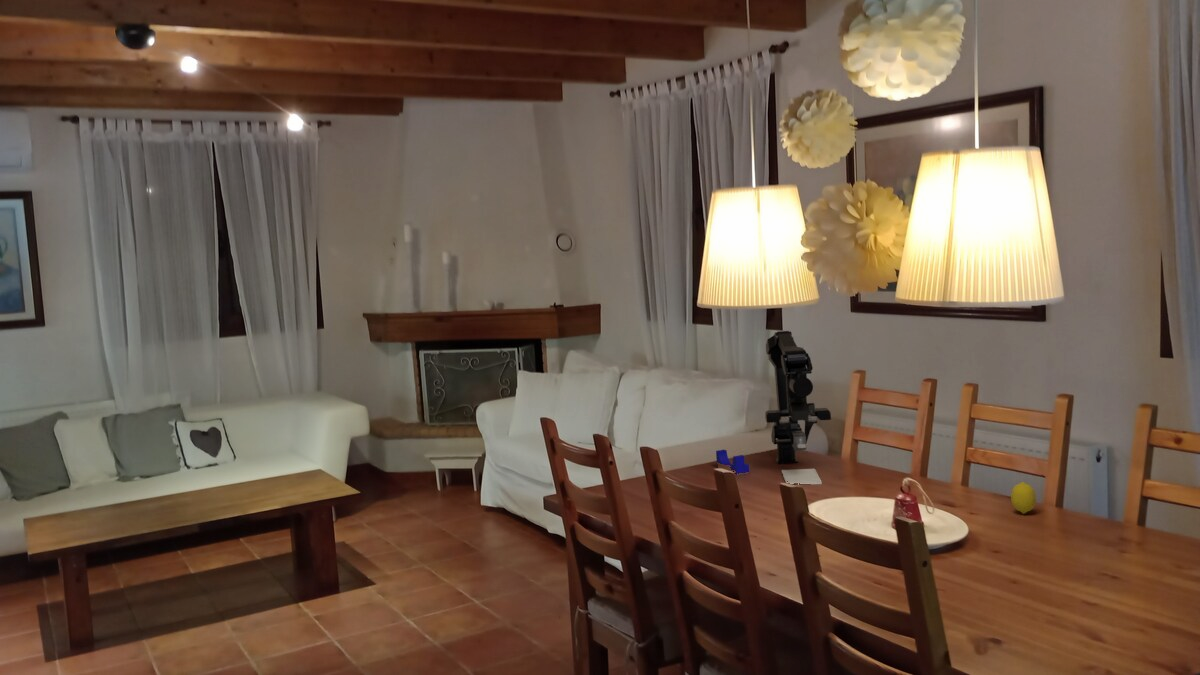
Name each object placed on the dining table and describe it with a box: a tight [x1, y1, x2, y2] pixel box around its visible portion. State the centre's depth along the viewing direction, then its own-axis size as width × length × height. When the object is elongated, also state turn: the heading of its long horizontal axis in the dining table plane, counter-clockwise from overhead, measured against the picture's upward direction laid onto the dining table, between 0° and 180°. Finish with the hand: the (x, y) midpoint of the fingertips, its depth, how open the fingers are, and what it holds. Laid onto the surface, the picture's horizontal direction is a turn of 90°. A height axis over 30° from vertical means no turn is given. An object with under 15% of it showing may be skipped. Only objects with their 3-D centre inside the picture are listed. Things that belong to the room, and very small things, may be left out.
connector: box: [792, 430, 807, 452], centre depth 281 cm, size 4×12×4 cm, turn 174°
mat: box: [781, 468, 823, 486], centre depth 282 cm, size 16×10×1 cm, turn 174°
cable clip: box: [715, 449, 750, 476], centre depth 296 cm, size 12×4×6 cm, turn 23°
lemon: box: [1010, 481, 1037, 515], centre depth 232 cm, size 6×6×8 cm
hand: (798, 443), depth 282 cm, fingers closed on connector, 3 cm apart
